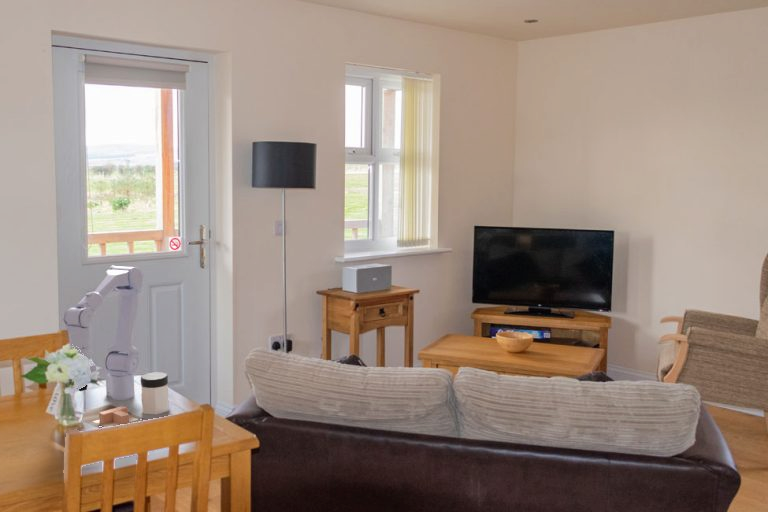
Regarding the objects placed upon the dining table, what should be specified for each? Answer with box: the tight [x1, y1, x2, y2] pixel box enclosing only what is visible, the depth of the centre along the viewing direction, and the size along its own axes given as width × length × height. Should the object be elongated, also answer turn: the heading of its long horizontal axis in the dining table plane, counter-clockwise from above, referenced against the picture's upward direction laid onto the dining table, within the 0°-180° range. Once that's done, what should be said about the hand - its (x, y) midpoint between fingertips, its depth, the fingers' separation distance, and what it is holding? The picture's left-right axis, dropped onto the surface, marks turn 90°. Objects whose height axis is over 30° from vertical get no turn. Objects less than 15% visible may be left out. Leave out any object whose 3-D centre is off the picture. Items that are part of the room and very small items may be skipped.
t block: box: [99, 405, 131, 425], centre depth 239 cm, size 8×8×3 cm
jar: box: [140, 371, 170, 415], centre depth 249 cm, size 9×8×12 cm
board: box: [81, 403, 145, 429], centre depth 243 cm, size 20×13×1 cm, turn 49°
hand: (82, 390), depth 242 cm, fingers closed
